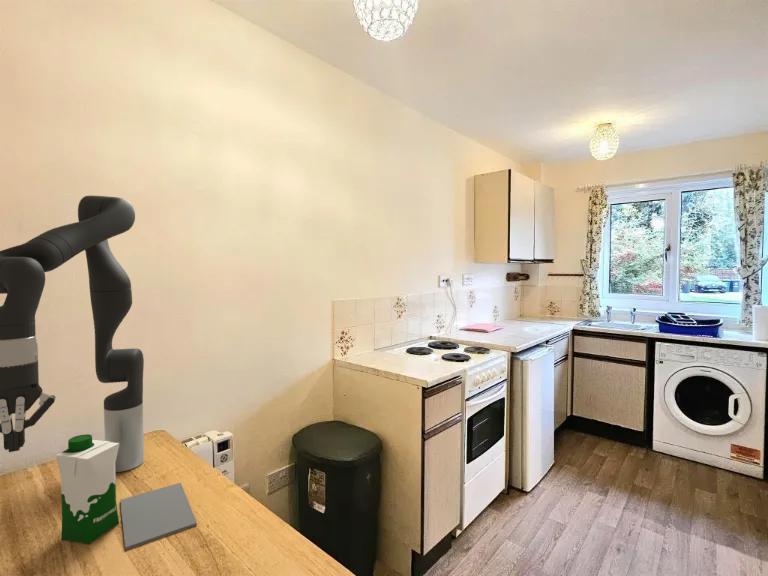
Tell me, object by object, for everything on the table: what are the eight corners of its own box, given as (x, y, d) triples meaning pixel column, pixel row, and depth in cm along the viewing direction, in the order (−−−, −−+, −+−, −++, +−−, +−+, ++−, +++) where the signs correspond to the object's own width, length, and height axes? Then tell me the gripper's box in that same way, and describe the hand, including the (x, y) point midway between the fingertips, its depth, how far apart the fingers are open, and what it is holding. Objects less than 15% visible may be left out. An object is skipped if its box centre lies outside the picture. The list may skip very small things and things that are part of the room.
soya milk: (92, 516, 88) (90, 429, 87) (126, 521, 86) (124, 432, 85) (52, 542, 79) (49, 446, 79) (89, 548, 78) (86, 450, 77)
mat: (120, 502, 93) (120, 499, 93) (180, 484, 101) (180, 482, 101) (125, 550, 77) (125, 547, 77) (196, 525, 85) (196, 522, 85)
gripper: (58, 353, 82) (60, 435, 82) (-33, 362, 74) (-30, 452, 74) (55, 360, 75) (57, 448, 76) (-44, 369, 68) (-41, 468, 68)
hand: (14, 450), depth 75 cm, fingers closed
